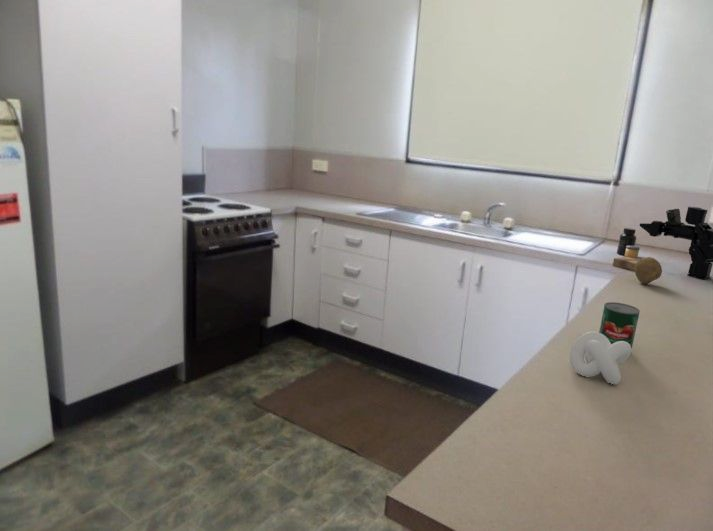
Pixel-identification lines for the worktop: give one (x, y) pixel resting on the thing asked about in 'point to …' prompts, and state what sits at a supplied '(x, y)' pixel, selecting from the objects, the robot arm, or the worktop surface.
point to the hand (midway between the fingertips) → (645, 224)
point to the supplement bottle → (626, 240)
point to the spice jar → (632, 251)
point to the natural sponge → (647, 270)
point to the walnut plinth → (625, 263)
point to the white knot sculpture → (599, 356)
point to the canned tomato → (619, 322)
